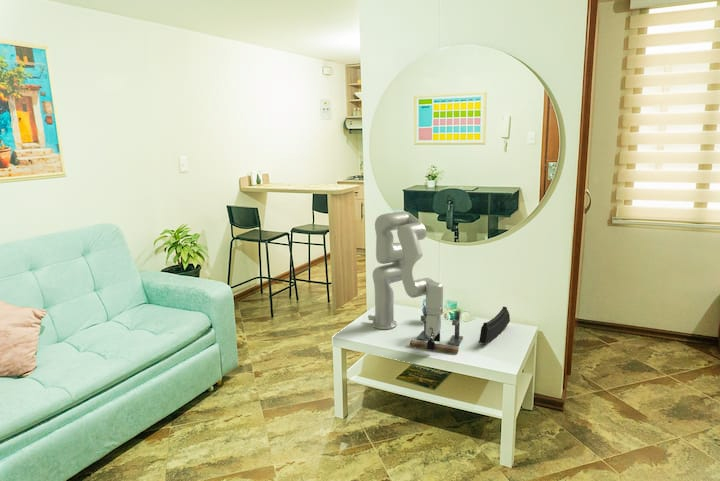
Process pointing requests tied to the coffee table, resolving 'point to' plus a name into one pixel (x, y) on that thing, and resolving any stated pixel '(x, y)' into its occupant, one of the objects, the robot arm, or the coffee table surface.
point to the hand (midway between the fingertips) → (433, 345)
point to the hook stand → (455, 338)
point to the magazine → (494, 326)
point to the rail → (437, 347)
